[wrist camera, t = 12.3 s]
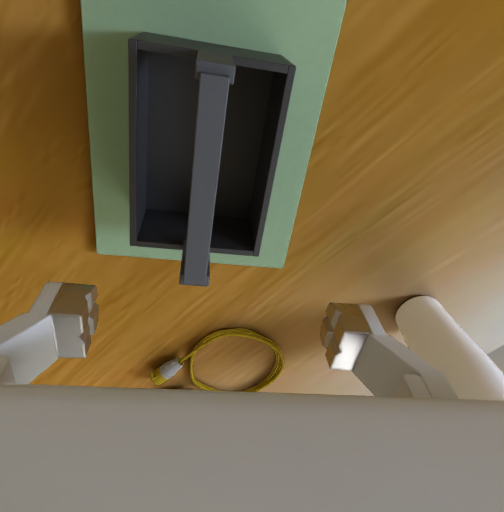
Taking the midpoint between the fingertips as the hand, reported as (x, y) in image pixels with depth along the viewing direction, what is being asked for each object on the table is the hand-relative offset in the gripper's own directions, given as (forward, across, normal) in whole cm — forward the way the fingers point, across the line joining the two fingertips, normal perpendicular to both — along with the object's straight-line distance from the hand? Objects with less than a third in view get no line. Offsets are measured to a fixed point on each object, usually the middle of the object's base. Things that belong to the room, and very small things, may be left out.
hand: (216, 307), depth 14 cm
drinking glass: (+22, -25, +18) cm, 38 cm away
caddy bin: (+21, +1, +1) cm, 21 cm away
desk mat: (+22, +1, +1) cm, 22 cm away
